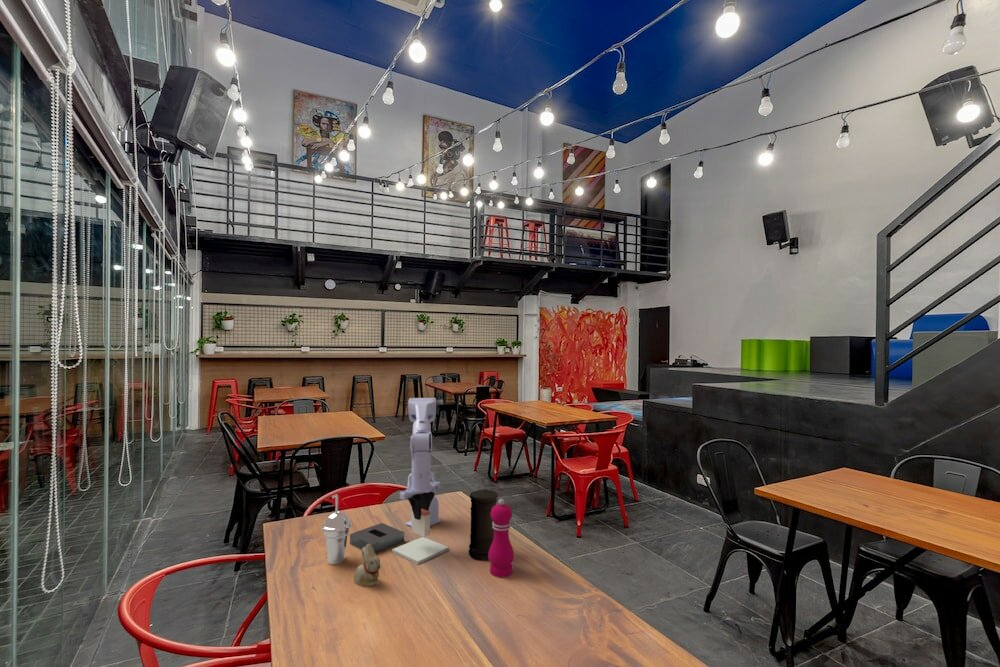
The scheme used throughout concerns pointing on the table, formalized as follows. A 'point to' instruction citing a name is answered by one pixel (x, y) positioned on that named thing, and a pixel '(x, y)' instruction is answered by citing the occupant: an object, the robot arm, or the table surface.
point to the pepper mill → (501, 541)
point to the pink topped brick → (421, 523)
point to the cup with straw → (336, 534)
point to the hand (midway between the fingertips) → (420, 517)
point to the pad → (420, 550)
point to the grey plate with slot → (377, 537)
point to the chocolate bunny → (368, 568)
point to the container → (481, 523)
